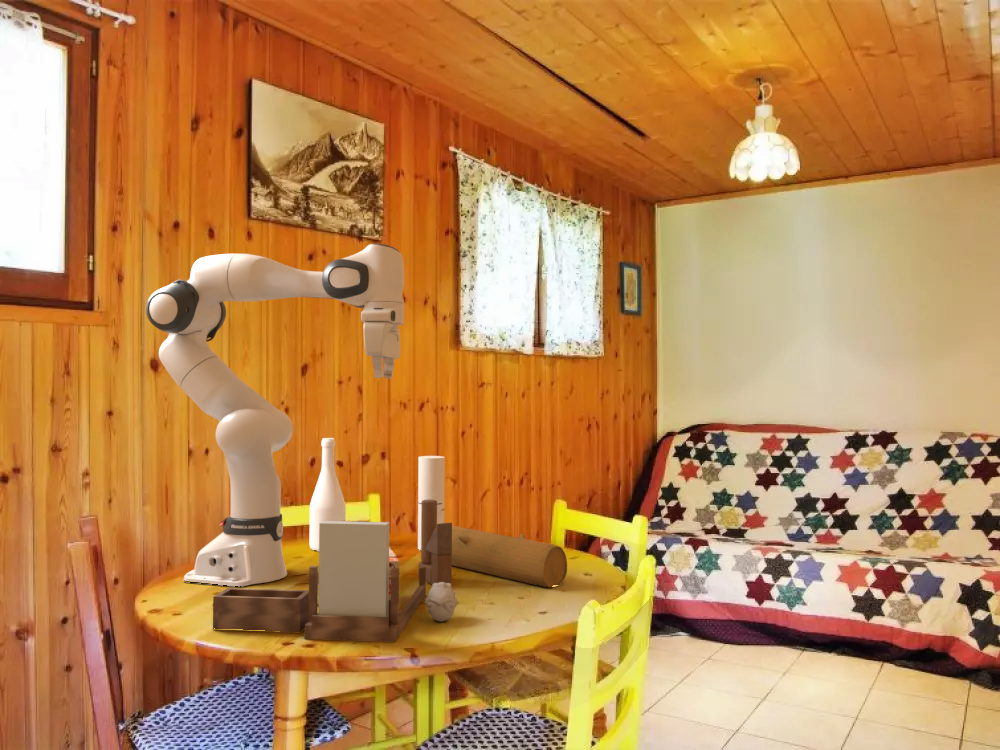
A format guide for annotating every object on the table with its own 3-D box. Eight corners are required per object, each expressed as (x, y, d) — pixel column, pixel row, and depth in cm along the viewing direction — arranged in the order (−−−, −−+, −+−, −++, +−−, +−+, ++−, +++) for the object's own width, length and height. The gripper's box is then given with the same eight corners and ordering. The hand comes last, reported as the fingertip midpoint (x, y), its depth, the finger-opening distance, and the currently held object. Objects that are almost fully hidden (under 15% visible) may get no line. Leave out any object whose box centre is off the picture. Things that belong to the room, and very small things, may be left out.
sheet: (318, 636, 135) (319, 523, 135) (322, 632, 137) (323, 520, 137) (385, 639, 134) (386, 524, 134) (388, 634, 136) (389, 522, 136)
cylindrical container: (412, 548, 209) (413, 456, 209) (433, 544, 214) (433, 455, 214) (428, 552, 204) (429, 458, 204) (449, 549, 208) (450, 457, 209)
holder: (212, 630, 138) (213, 596, 138) (227, 620, 144) (227, 588, 144) (300, 632, 137) (300, 599, 137) (311, 622, 143) (311, 590, 143)
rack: (304, 639, 134) (305, 570, 134) (351, 593, 163) (352, 537, 163) (394, 642, 132) (395, 572, 132) (425, 595, 162) (426, 538, 162)
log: (423, 564, 192) (423, 524, 192) (450, 558, 199) (450, 519, 199) (540, 592, 166) (541, 546, 166) (567, 584, 173) (568, 540, 173)
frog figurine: (458, 615, 148) (458, 578, 148) (455, 626, 141) (456, 588, 141) (427, 614, 148) (427, 578, 148) (422, 625, 141) (423, 588, 141)
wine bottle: (349, 545, 212) (350, 437, 213) (338, 552, 203) (339, 439, 203) (316, 544, 213) (317, 437, 214) (304, 551, 204) (305, 439, 204)
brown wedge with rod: (437, 588, 168) (437, 506, 168) (417, 577, 177) (418, 499, 177) (452, 586, 169) (452, 505, 170) (432, 575, 179) (432, 498, 179)
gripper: (380, 320, 182) (380, 378, 182) (358, 312, 162) (358, 377, 162) (407, 320, 182) (406, 378, 181) (388, 312, 161) (387, 377, 161)
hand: (383, 378), depth 171 cm, fingers open, 8 cm apart
